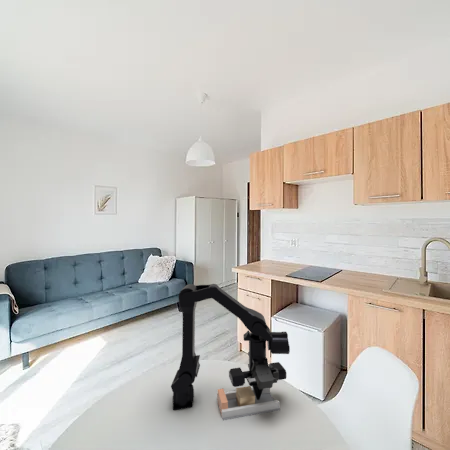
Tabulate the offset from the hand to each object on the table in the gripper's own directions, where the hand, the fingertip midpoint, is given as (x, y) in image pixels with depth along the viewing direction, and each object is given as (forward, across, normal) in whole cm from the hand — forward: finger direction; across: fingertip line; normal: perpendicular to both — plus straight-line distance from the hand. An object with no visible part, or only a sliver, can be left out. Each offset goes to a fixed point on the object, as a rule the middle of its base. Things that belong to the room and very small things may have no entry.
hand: (257, 399), depth 81 cm
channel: (+2, -4, 0) cm, 4 cm away
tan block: (+1, -4, 0) cm, 4 cm away
